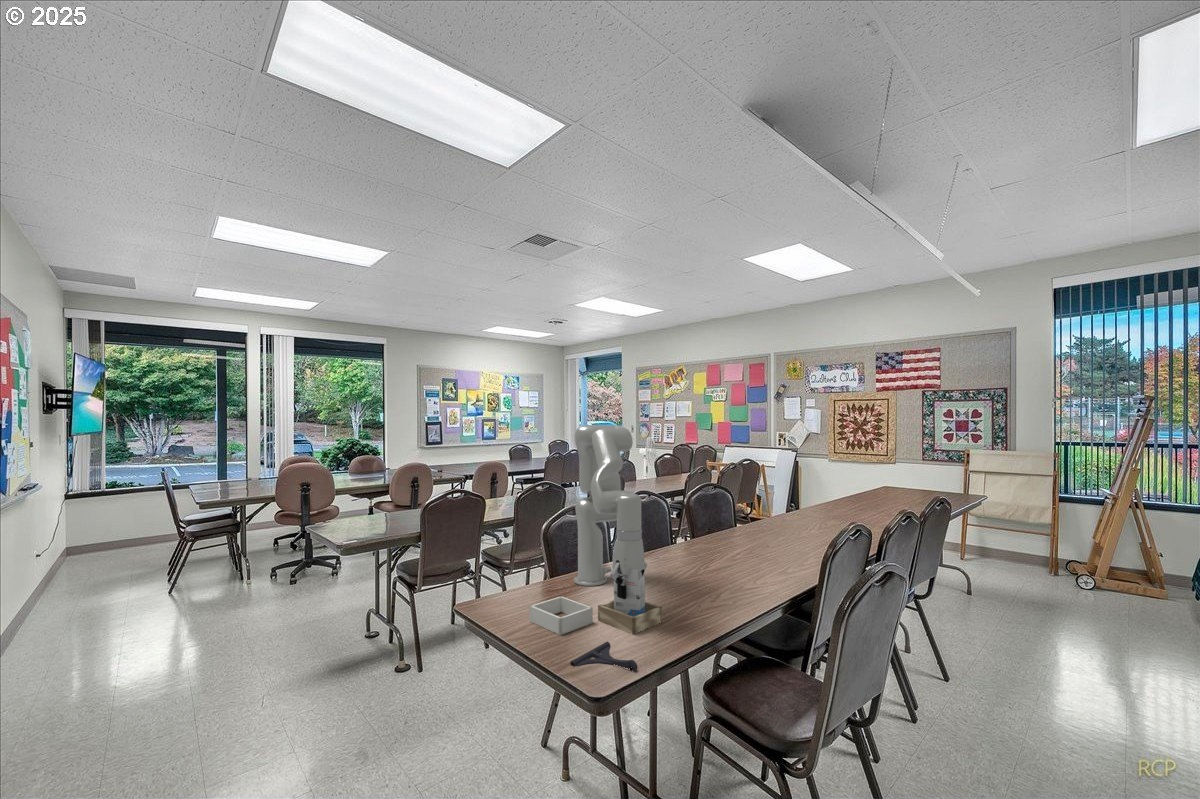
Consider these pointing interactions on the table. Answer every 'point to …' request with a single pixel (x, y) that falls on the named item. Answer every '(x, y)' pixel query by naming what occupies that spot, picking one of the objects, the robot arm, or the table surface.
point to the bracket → (602, 658)
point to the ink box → (631, 595)
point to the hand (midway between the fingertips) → (629, 594)
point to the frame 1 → (560, 625)
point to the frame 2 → (630, 617)
